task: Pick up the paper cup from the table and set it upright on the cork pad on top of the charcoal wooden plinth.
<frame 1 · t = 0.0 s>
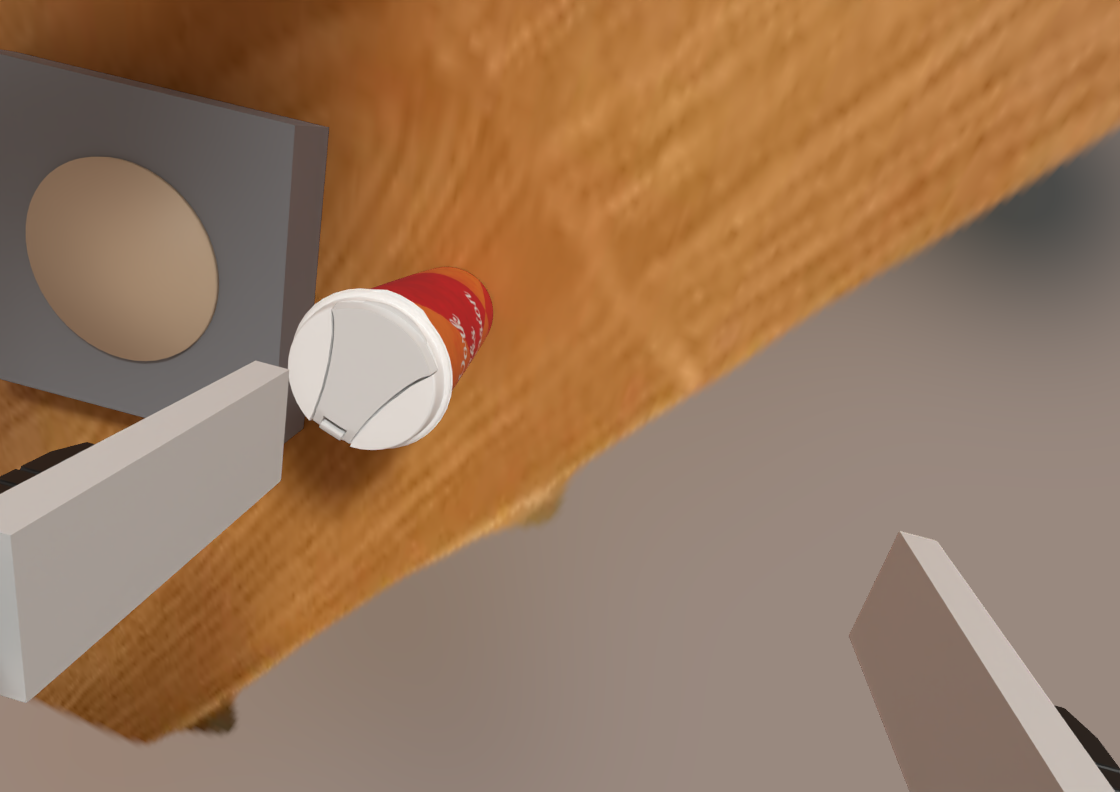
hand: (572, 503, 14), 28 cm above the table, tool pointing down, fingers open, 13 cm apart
plinth: (169, 253, 44), on the table
paper cup: (452, 308, 43), on the table
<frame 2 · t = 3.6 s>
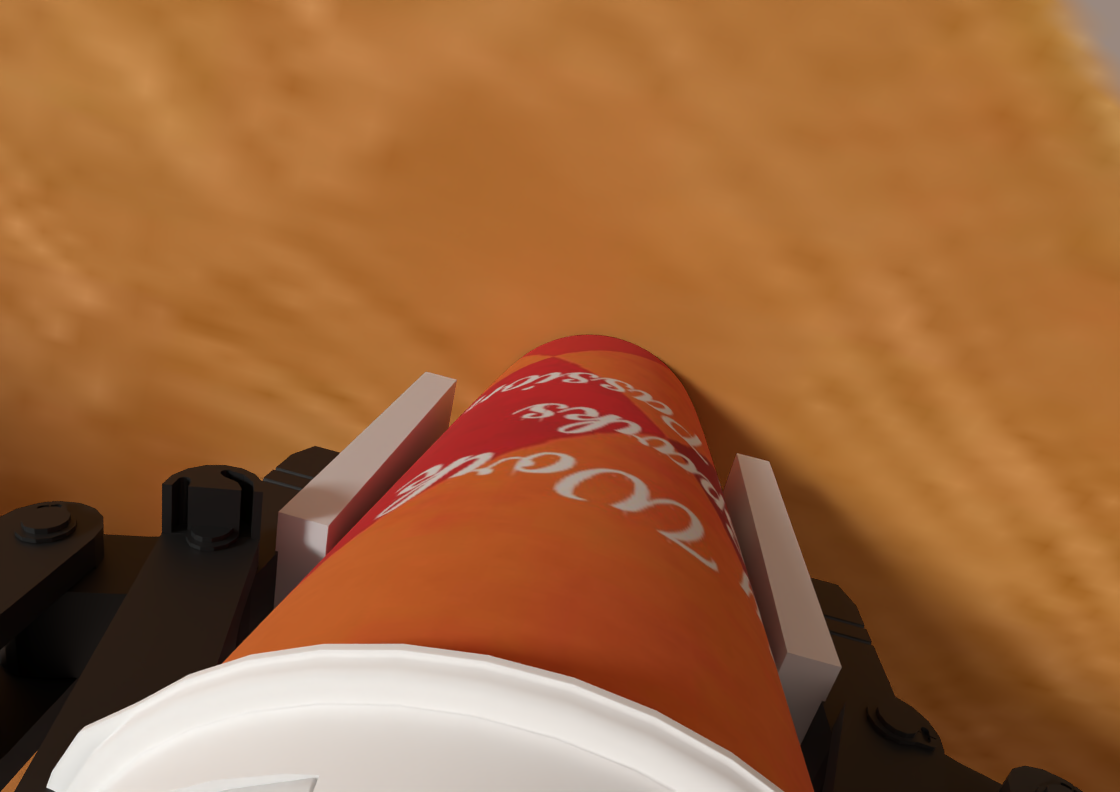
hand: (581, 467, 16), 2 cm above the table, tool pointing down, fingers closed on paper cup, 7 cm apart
paper cup: (589, 430, 18), on the table, touching gripper
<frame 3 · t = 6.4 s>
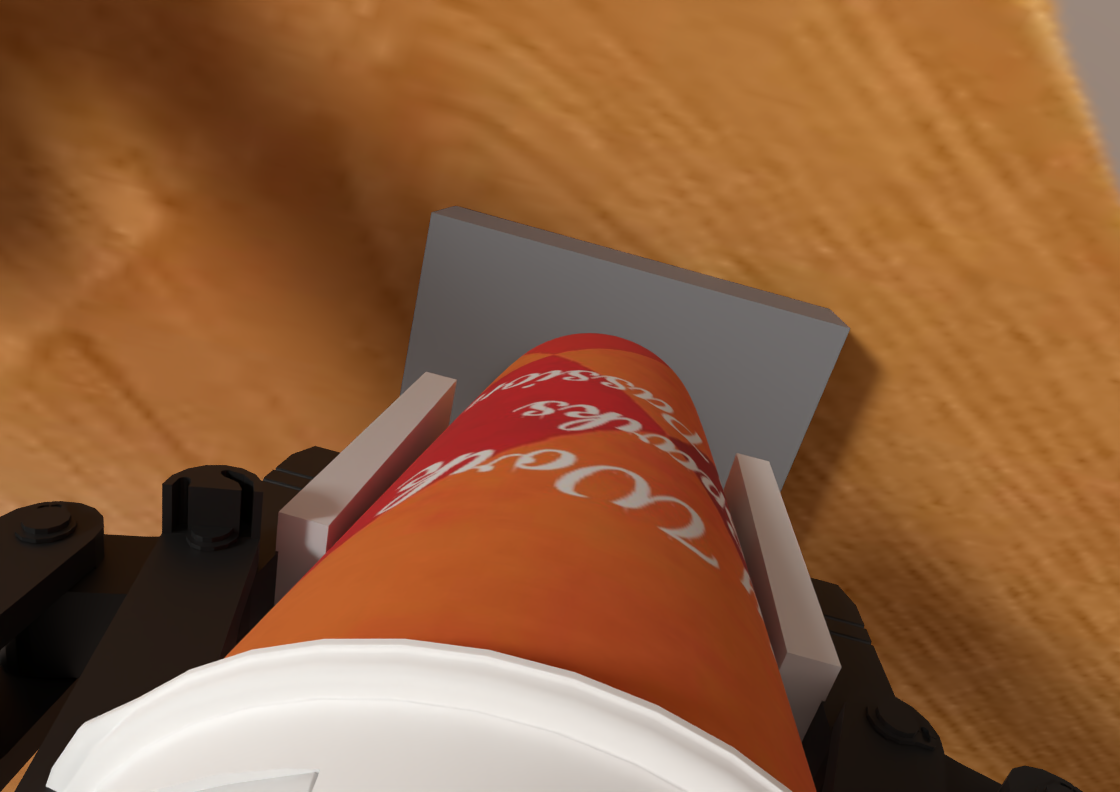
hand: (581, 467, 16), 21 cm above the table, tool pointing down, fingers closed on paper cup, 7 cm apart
plinth: (590, 427, 38), on the table
paper cup: (590, 429, 18), point 19 cm above the table, touching gripper
when the fingers open (7 cm above the table, at t = 9.2 s): paper cup stays where it is, resting on plinth.
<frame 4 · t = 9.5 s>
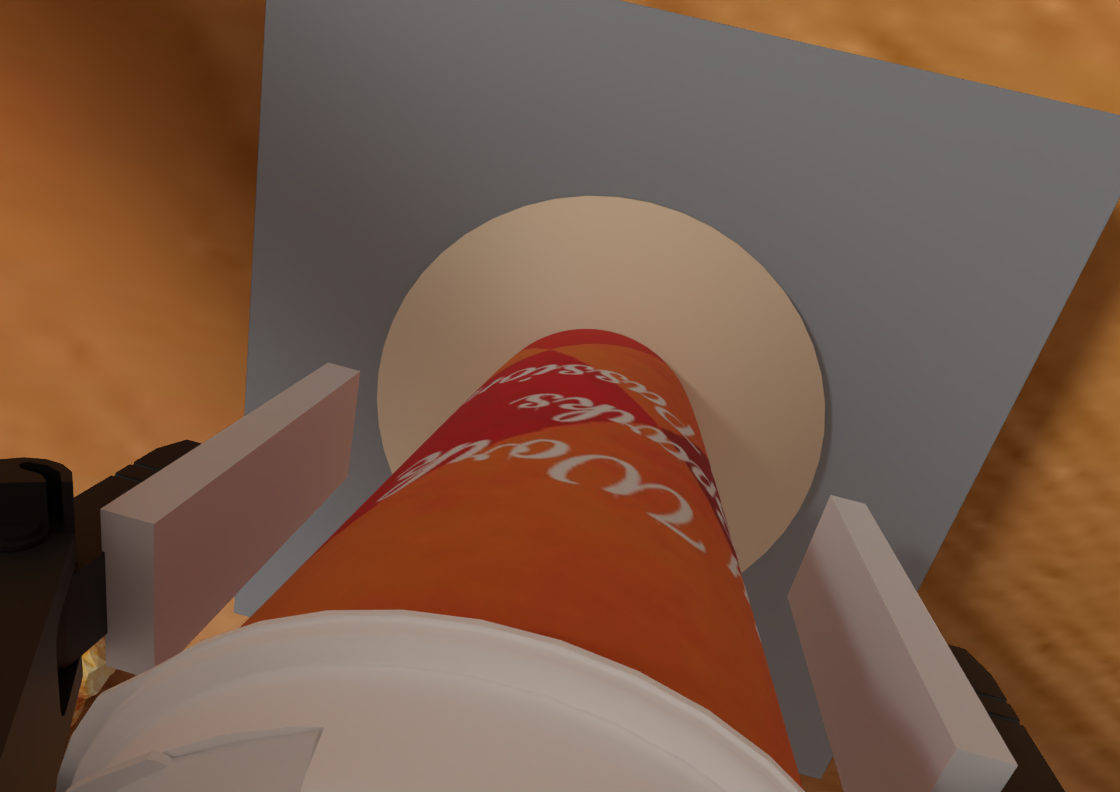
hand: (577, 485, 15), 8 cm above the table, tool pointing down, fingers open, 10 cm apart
plinth: (603, 377, 22), on the table
paper cup: (586, 423, 18), point 4 cm above the table, touching plinth
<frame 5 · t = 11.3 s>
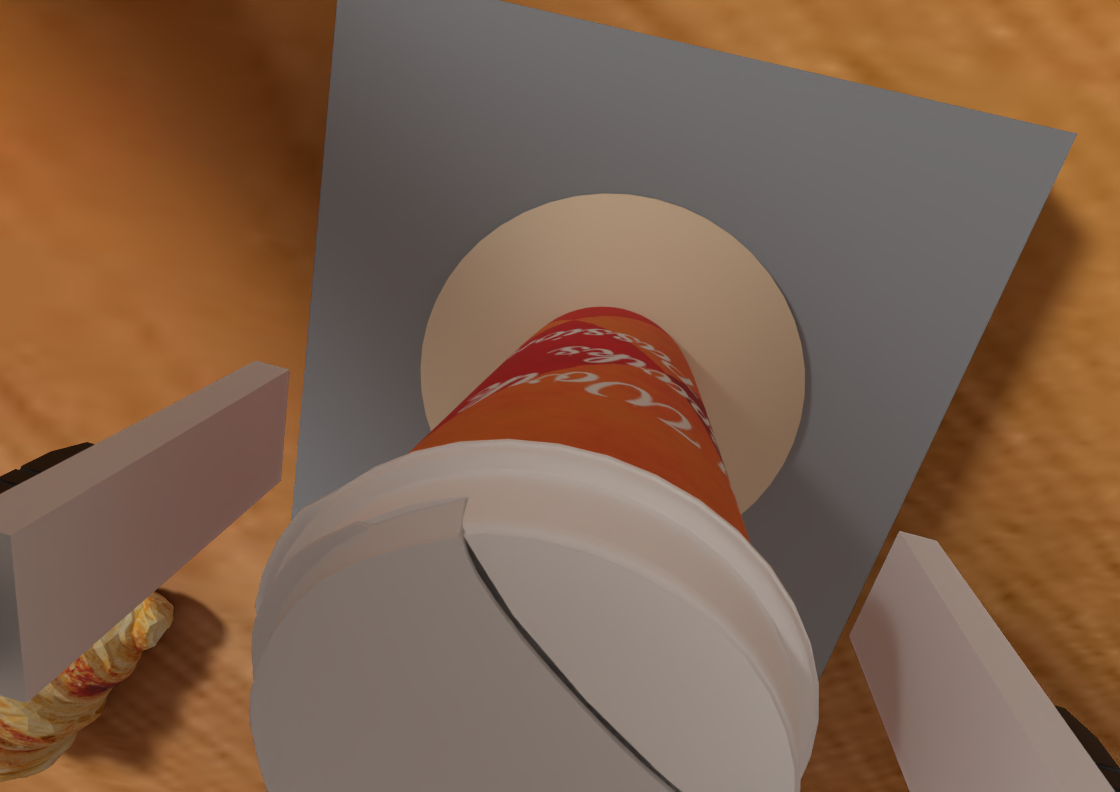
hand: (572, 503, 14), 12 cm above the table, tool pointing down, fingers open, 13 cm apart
croissant: (44, 642, 35), on the table
plinth: (614, 354, 25), on the table
paper cup: (601, 389, 21), point 4 cm above the table, touching plinth
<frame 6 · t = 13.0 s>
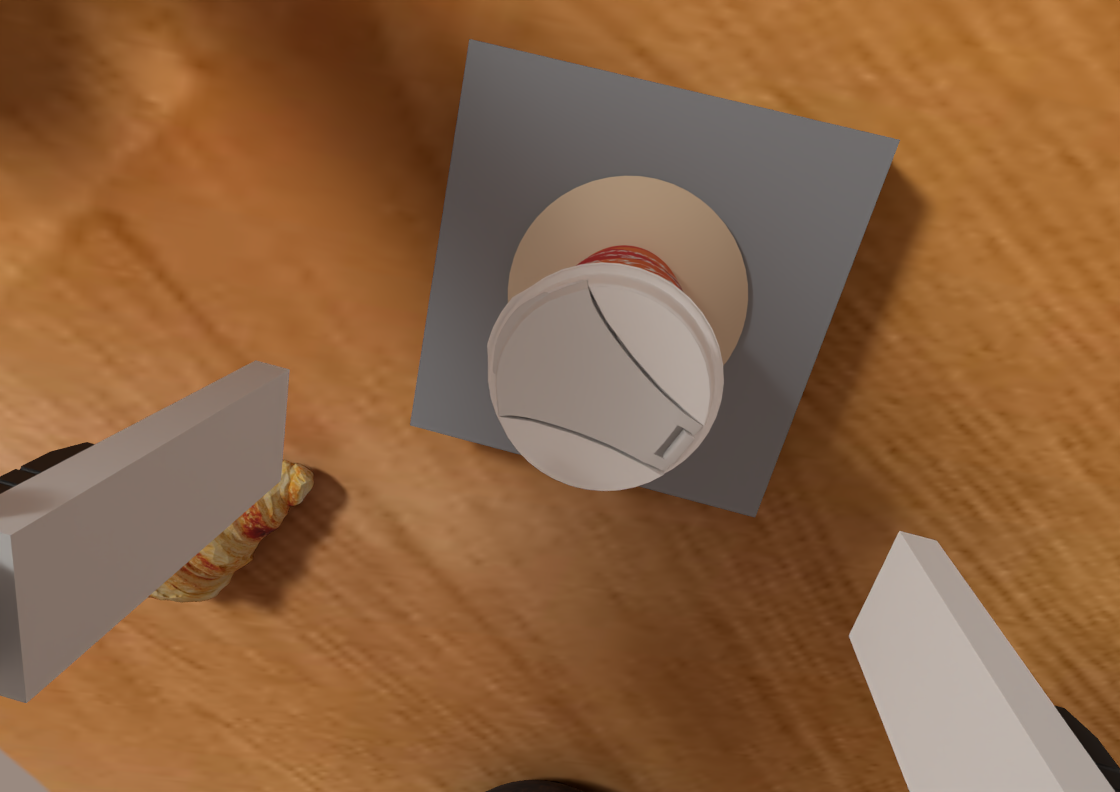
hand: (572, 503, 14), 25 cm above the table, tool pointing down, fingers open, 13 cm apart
croissant: (205, 511, 48), on the table
plinth: (628, 285, 38), on the table
paper cup: (622, 299, 34), point 4 cm above the table, touching plinth
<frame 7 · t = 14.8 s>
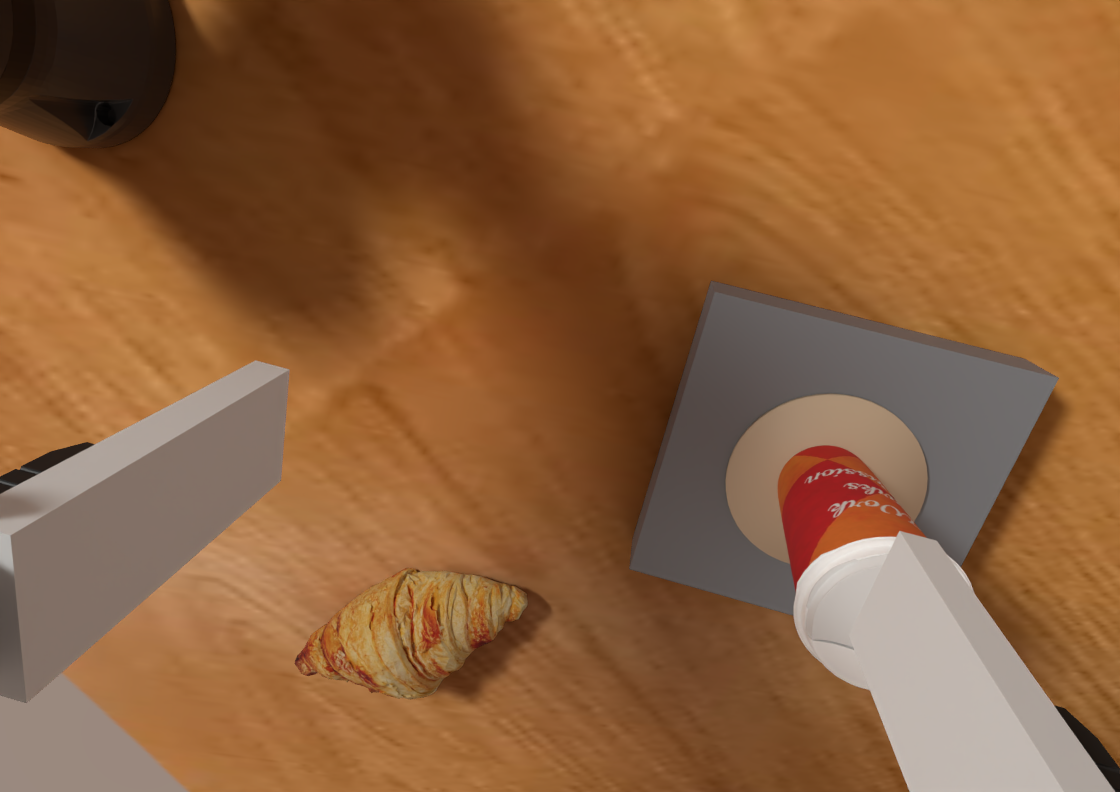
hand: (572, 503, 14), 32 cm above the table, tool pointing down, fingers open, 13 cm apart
croissant: (420, 616, 57), on the table
plinth: (810, 457, 46), on the table
paper cup: (821, 483, 42), point 4 cm above the table, touching plinth
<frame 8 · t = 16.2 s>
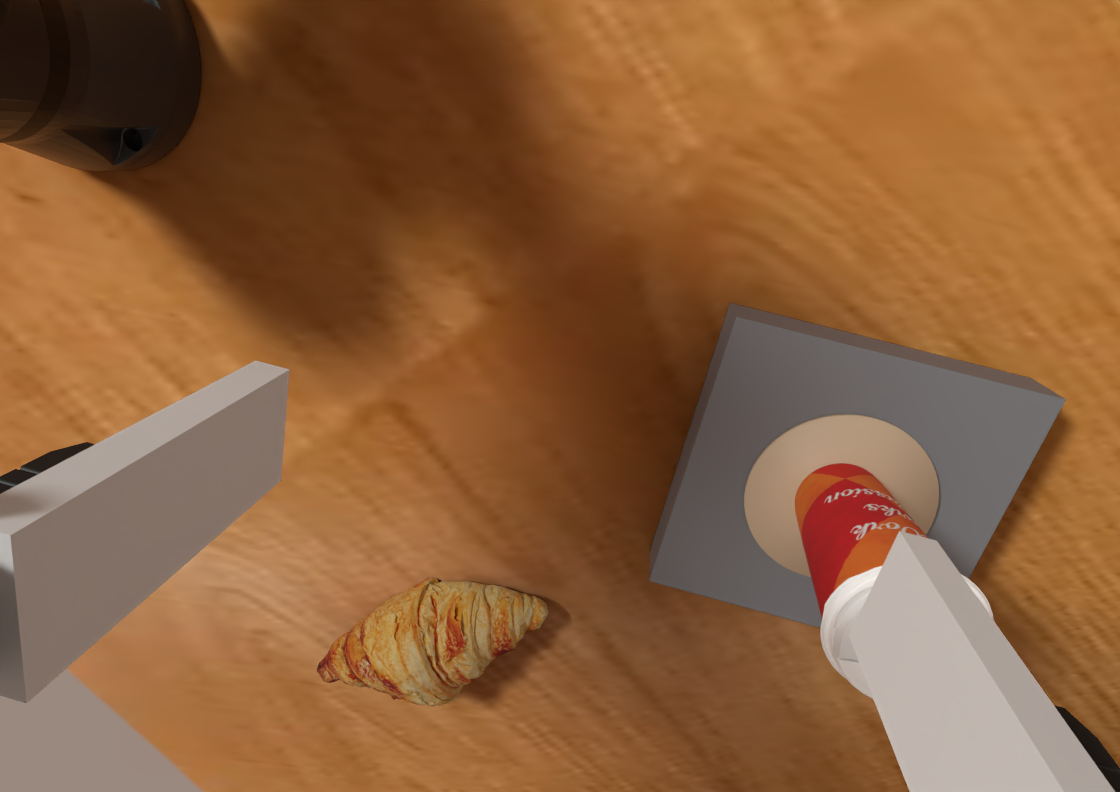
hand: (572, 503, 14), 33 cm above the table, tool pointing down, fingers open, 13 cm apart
croissant: (440, 624, 58), on the table
plinth: (824, 471, 48), on the table
paper cup: (836, 499, 44), point 4 cm above the table, touching plinth
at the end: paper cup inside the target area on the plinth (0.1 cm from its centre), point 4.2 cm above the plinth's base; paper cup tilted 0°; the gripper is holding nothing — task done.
